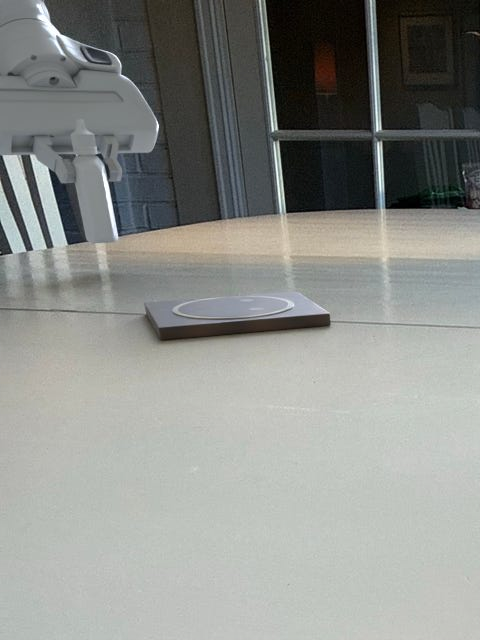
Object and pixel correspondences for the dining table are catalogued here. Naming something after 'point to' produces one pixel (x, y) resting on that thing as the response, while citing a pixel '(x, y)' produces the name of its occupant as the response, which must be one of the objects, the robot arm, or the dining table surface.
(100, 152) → the robot arm
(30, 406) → the dining table surface
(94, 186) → the eye dropper bottle
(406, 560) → the dining table surface
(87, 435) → the dining table surface
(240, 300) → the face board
